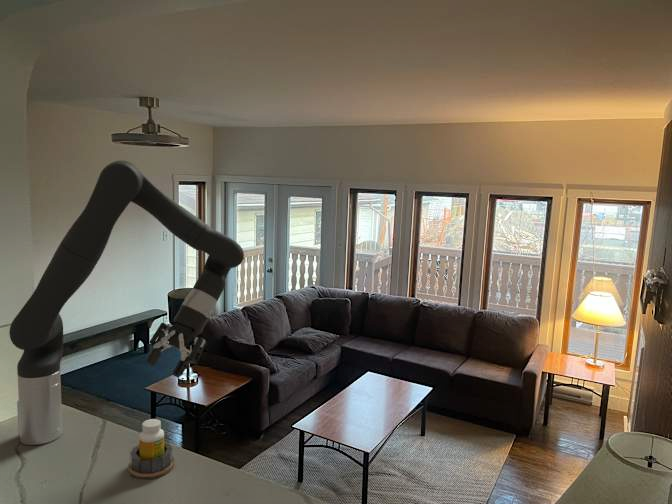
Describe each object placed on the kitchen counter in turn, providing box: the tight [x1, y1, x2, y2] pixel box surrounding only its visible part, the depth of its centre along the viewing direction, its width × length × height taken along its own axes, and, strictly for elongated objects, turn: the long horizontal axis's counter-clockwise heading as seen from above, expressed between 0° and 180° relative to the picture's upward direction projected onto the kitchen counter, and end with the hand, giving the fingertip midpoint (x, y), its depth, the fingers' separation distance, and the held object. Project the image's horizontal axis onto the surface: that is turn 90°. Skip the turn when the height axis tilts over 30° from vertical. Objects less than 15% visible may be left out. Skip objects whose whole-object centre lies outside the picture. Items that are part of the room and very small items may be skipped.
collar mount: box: [127, 441, 175, 480], centre depth 117 cm, size 10×10×4 cm
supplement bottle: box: [138, 418, 165, 458], centre depth 116 cm, size 5×5×10 cm
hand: (162, 370), depth 122 cm, fingers open, 8 cm apart
